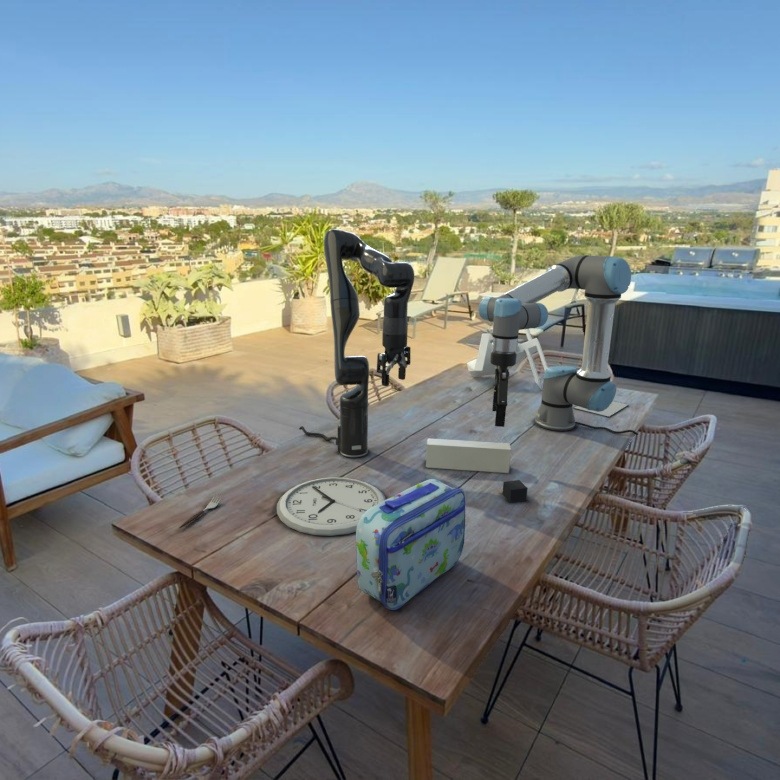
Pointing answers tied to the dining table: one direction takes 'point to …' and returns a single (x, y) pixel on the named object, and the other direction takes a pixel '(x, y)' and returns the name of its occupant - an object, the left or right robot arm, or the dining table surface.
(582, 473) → the dining table surface
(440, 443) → the bar
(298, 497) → the wall clock
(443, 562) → the lunch box
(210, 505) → the fork
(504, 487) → the rubber block
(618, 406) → the invitation card
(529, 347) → the white plastic object
